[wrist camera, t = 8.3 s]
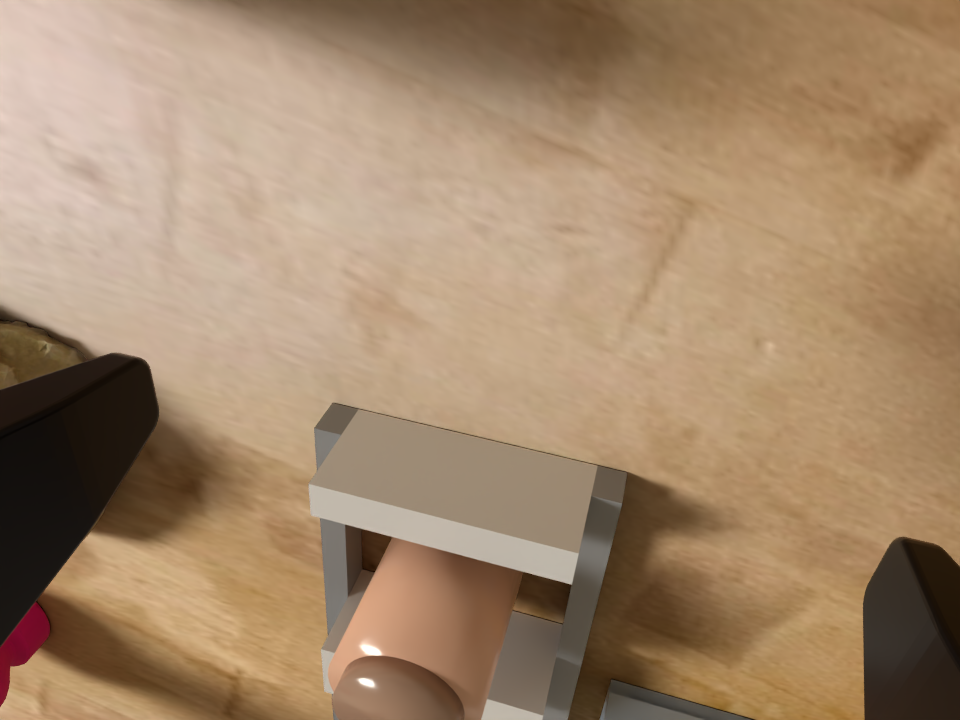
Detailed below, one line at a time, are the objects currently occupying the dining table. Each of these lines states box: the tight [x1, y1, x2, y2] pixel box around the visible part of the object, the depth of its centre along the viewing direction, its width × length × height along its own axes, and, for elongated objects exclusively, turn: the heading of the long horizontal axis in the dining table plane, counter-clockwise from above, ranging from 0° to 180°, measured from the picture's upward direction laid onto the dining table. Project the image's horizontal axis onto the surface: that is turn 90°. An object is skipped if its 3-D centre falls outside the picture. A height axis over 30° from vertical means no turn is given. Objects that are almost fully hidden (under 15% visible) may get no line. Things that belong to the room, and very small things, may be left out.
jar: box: [328, 537, 523, 720], centre depth 26 cm, size 5×5×8 cm
